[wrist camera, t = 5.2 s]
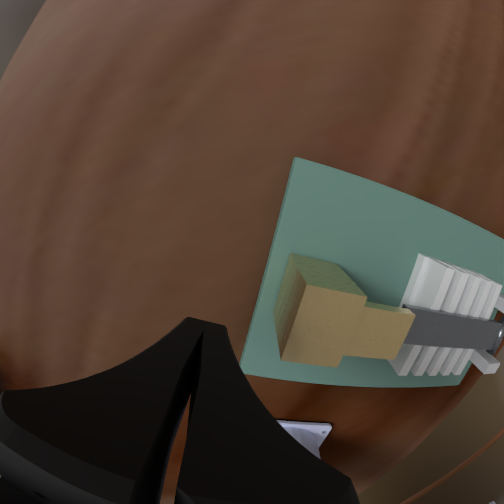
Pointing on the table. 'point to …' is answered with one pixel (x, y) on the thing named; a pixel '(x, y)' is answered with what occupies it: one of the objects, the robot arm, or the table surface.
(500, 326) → the strap
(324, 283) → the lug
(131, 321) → the table surface
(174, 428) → the robot arm
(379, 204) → the board
